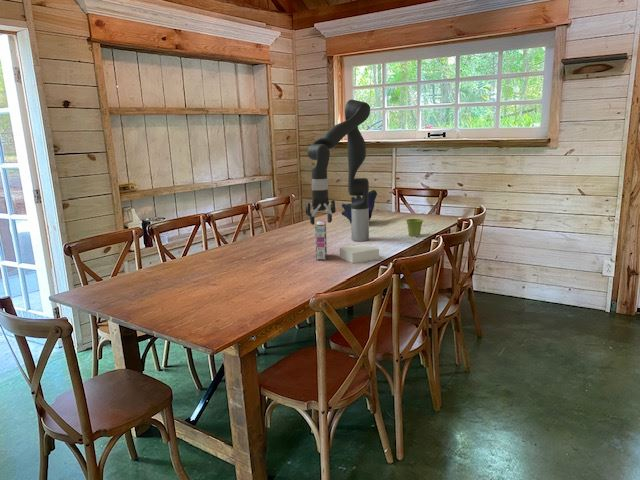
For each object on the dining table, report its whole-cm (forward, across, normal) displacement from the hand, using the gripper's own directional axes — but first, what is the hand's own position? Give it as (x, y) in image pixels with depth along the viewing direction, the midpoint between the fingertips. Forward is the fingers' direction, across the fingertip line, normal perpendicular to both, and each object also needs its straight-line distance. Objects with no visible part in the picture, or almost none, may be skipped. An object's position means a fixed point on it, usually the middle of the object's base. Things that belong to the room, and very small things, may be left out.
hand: (321, 223), depth 219 cm
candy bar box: (+16, 0, 0) cm, 17 cm away
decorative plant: (+16, -58, -65) cm, 89 cm away
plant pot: (+16, -64, -14) cm, 67 cm away
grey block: (+17, -14, +11) cm, 24 cm away
